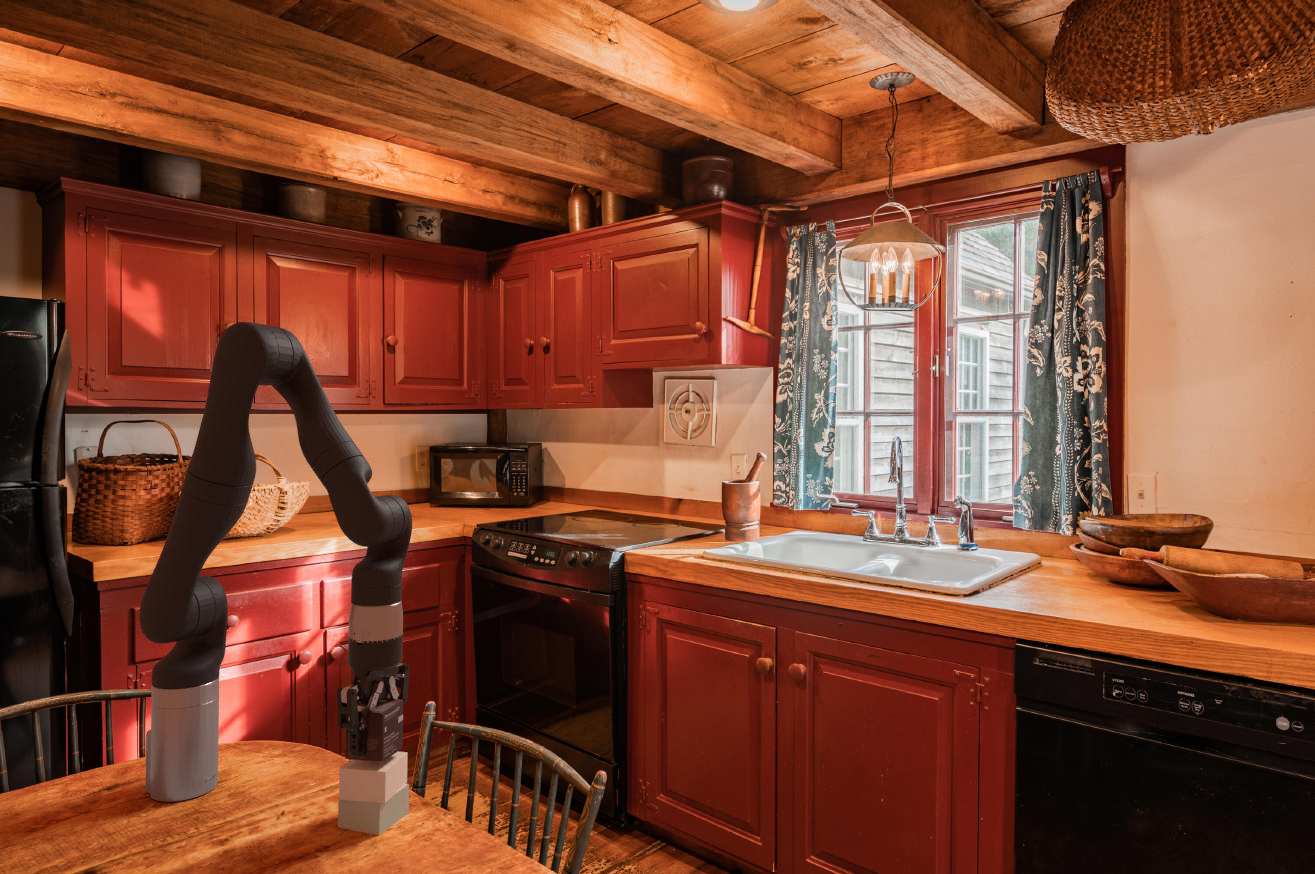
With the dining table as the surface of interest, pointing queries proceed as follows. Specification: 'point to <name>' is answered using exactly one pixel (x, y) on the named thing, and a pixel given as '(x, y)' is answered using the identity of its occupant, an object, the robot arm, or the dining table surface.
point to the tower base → (373, 813)
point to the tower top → (373, 779)
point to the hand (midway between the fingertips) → (373, 745)
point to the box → (380, 732)
